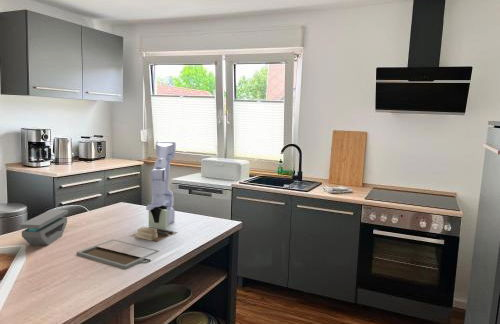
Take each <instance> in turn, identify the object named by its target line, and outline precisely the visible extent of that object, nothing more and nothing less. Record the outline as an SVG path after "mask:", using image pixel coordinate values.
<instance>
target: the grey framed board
mask: <svg viewBox="0 0 500 324" xmlns="http://www.w3.org/2000/svg"><path fill="white" fill-rule="evenodd" d="M110 242H118V243H122V244H126V245H131V246H135V247H138V248H142V249H146V250H151V251H152V252H151V253H148V254H146V255H145V256H142V257H141V256H137V255H133V254H128V253H124V252H121V251H116V250H113V249H109V248H104V247H100V246H102V245H105V244H107V243H110ZM157 253H160V250H158V249H153V248H150V247H145V246H142V245H138V244H137V245H136V244H133V243H130V242H126V241H121V240H117V239H110V240H107V241H105V242H101V243H97V244H95V245H92V246H90V247H88V248H84V249H82V250H79V251H76V253H75V254H76V255H77V256H80V257H83V258H87V259H90V260H94V261H97V262H100V263H104V264H107V265H111V266H114V267H116V268H120V269H123V270H127V269H130V268H131V267H134V266H136V265H138V264H148V263H150V262H151V259H149V258H148V257H150V256H152V255H155V254H157Z"/></svg>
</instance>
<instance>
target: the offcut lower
mask: <svg viewBox="0 0 500 324" xmlns="http://www.w3.org/2000/svg"><path fill="white" fill-rule="evenodd" d="M134 234H135V237H138V238H137V239H140V238H143V239H142V240H145V239H147V240H146V241H149V240H153V239H155V238H158V233H156V234H154V235H145V234H139V233H138V231H137V232H135V233H134ZM135 237H134V238H135Z"/></svg>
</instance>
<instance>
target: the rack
mask: <svg viewBox="0 0 500 324" xmlns="http://www.w3.org/2000/svg"><path fill="white" fill-rule="evenodd" d="M148 228H155V229H157V233H158V238H155V239H153V240H147V239H143V238H138V237H135V233H133V234H130V235H129V237H131V238H134V239H135V238H137V239H141V240H145V241H150V242H155V243H158V242H160V241H162V240H164V239H166V238H167V239H168V237H170V236H174V235H176V234H178V233H179V232H177V231H173V230H169V229H161V228H156V227H151V226H148Z"/></svg>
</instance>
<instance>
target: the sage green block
mask: <svg viewBox="0 0 500 324" xmlns="http://www.w3.org/2000/svg"><path fill="white" fill-rule="evenodd" d="M158 209H160V208H158ZM148 227H154V228H159V229H164V230H169V224H168V210H166V209H161V212H160V216H159V223H155V222H154V219H153V216H152V213H151V212H150V210H148Z"/></svg>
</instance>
